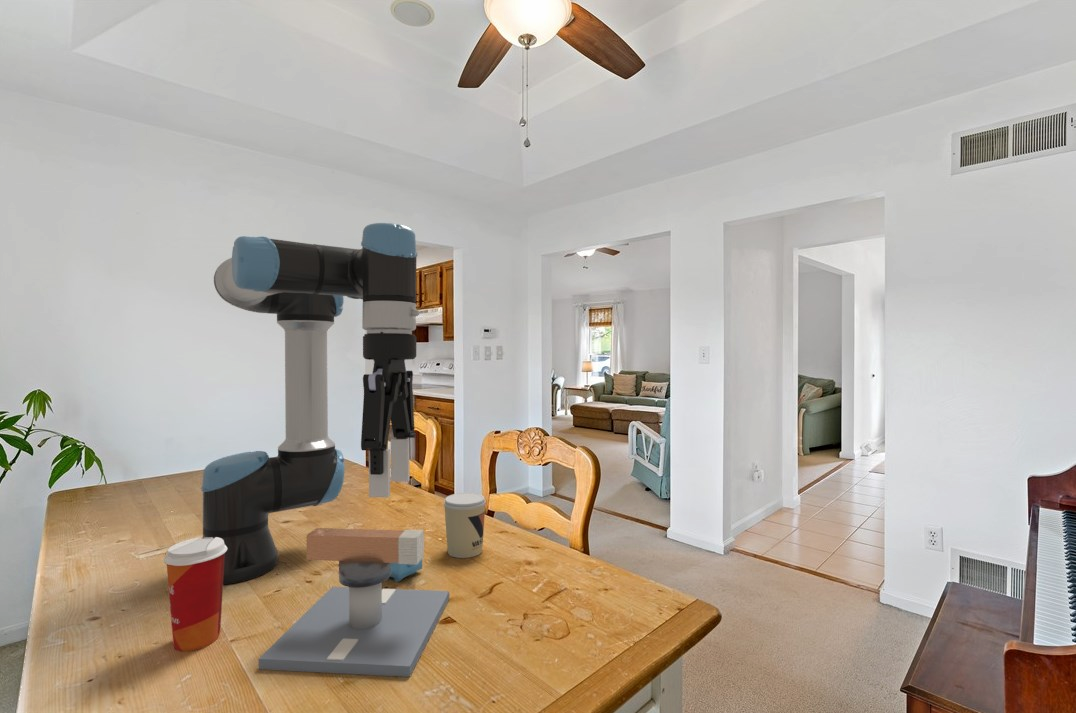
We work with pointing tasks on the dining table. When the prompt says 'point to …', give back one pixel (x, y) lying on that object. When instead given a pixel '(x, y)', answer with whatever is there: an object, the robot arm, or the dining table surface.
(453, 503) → the coffee cup
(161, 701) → the dining table surface
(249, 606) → the dining table surface
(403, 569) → the teapot
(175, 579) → the coffee cup
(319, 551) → the t handle
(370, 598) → the striped base plate
